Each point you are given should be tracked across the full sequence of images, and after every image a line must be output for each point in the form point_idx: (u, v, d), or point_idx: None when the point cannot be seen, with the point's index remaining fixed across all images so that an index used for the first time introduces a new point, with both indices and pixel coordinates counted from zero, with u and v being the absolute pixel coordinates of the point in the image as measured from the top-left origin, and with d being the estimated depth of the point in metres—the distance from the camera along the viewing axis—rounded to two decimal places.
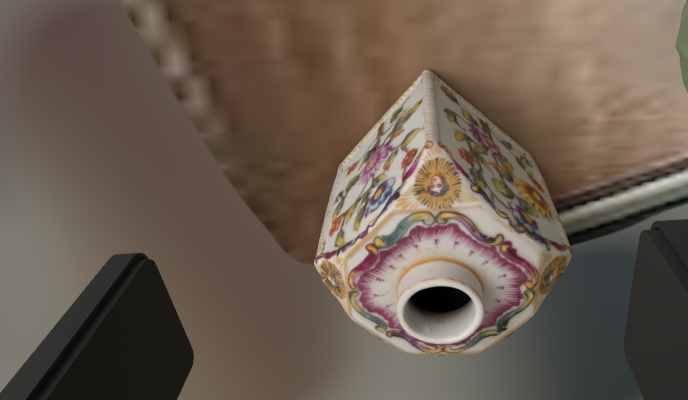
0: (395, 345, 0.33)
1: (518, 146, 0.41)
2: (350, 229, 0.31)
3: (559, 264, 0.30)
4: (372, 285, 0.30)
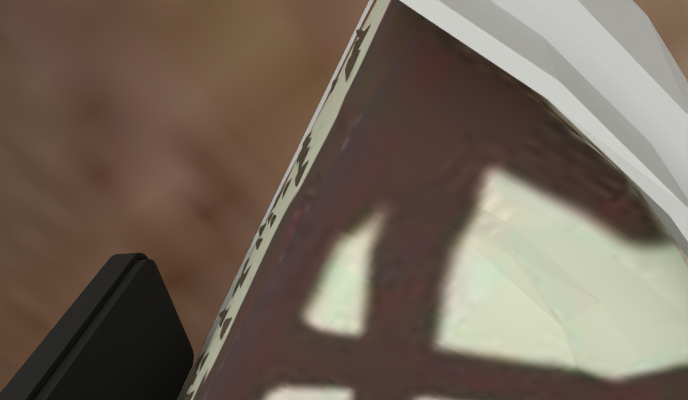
0: None
1: None
2: None
3: None
4: None
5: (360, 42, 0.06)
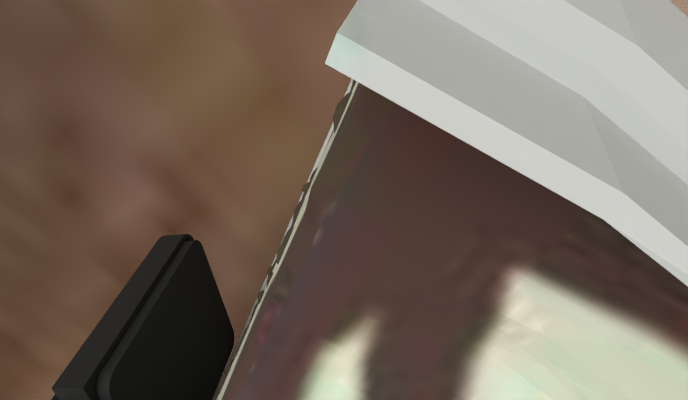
0: None
1: None
2: None
3: None
4: None
5: None
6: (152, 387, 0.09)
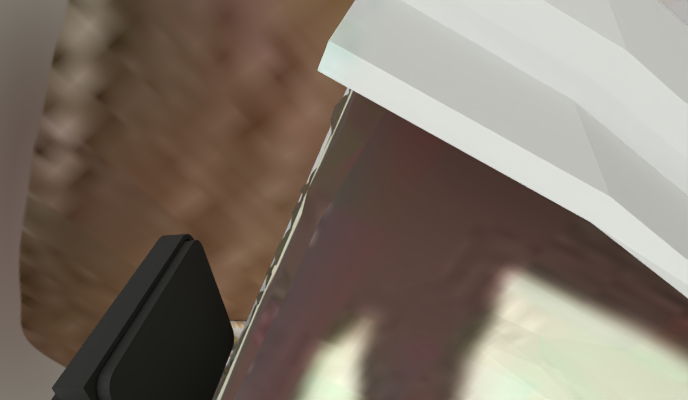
0: None
1: None
2: None
3: None
4: None
5: None
6: (152, 387, 0.09)
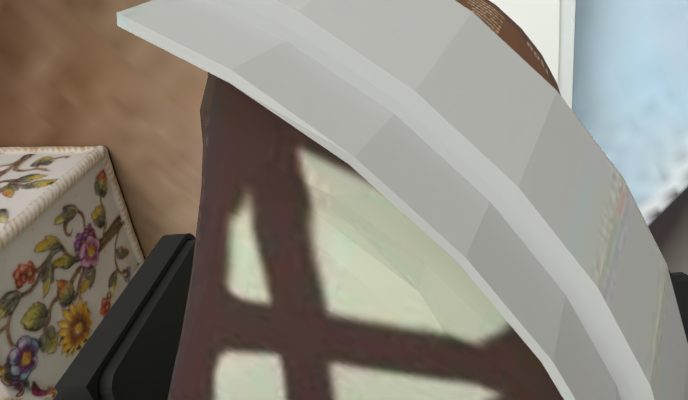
0: None
1: (138, 255, 0.42)
2: None
3: None
4: None
5: None
6: (154, 386, 0.09)
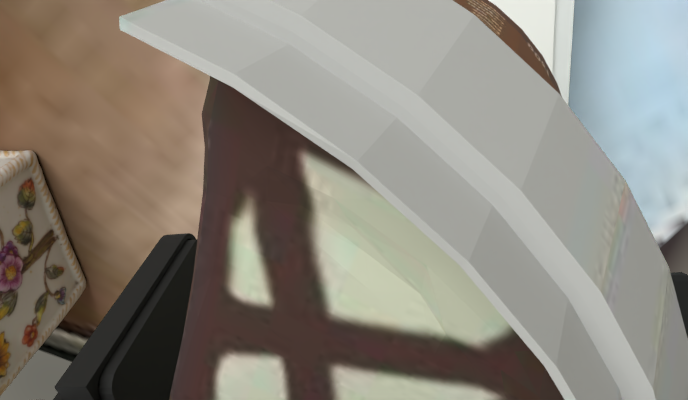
0: None
1: (77, 273, 0.37)
2: None
3: None
4: None
5: None
6: (155, 386, 0.09)
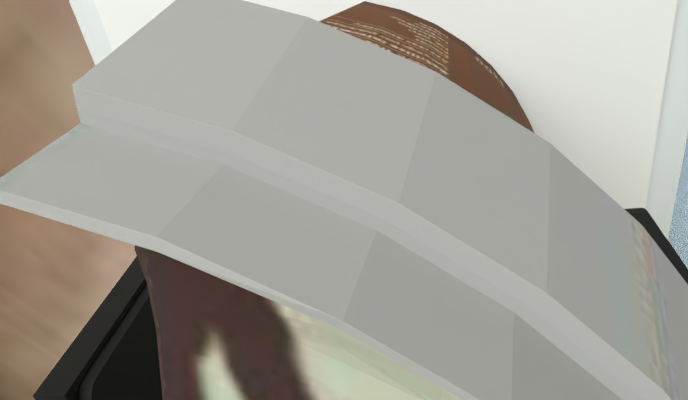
0: None
1: None
2: None
3: None
4: None
5: None
6: (137, 394, 0.09)
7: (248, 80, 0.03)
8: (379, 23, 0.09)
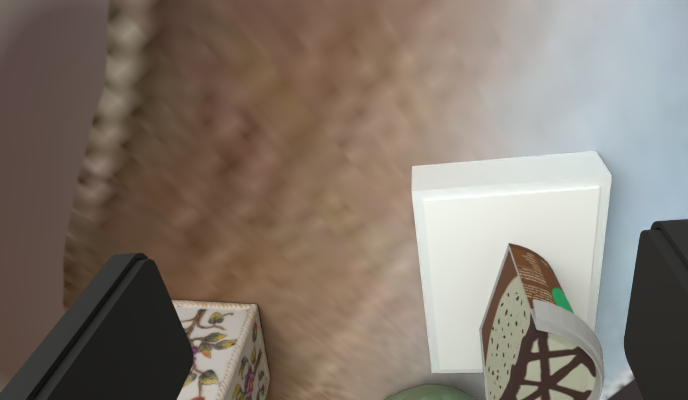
0: None
1: (267, 372, 0.57)
2: None
3: None
4: None
5: (521, 304, 0.35)
6: None
7: (548, 314, 0.32)
8: (524, 264, 0.38)
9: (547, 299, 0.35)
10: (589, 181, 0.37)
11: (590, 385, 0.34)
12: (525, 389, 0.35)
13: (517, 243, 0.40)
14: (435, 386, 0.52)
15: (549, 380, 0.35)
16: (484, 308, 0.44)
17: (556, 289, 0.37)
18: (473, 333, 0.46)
